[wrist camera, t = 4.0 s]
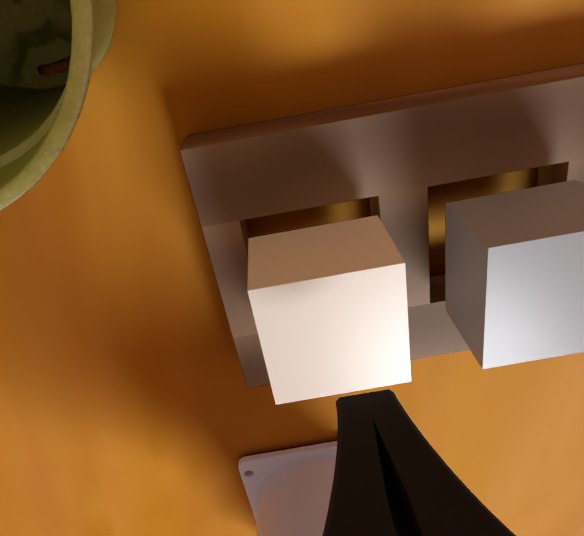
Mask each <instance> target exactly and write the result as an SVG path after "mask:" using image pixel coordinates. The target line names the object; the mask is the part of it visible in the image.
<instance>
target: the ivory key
mask: <svg viewBox="0 0 584 536" xmlns="http://www.w3.org/2000/svg"><path fill="white" fill-rule="evenodd" d="M247 291H248V295H249V299H250V303H251V307H252V311H253V315H254V319H255V323H256V327H257V331H258V335H259V339H260V344H261V348H262V352H263V356H264V360H265V364H266V368H267V372H268V376H269V380H270V384H271V388H272V392H273V396H274V400H275V404H276V405H278V404H283V403H289V402H295V401H301V400H307V399H312V398H318V397H324V396H330V395H336V394H341V393H347V392H353V391H359V390H365V389H371V388H376V387H382V386H388V385H394V384H400V383H405V382H411V366H410V346H409V327H408V307H407V287H406V267H405V262H404V260H403V258H402V256H401V255H400V253H399V251H398V250H397V248H396V246H395V244H394V243H393V241H392V239H391V238H390V236H389V234H388V232H387V231H386V229H385V227H384V226H383V224H382V222H381V220H380V219H379V217H378V215H376V216H370V217H365V218H359V219H353V220H348V221H342V222H337V223H331V224H325V225H320V226H314V227H309V228H303V229H297V230H292V231H286V232H281V233H275V234H270V235H264V236H258V237H253V238H249V239H248V285H247Z"/></svg>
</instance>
